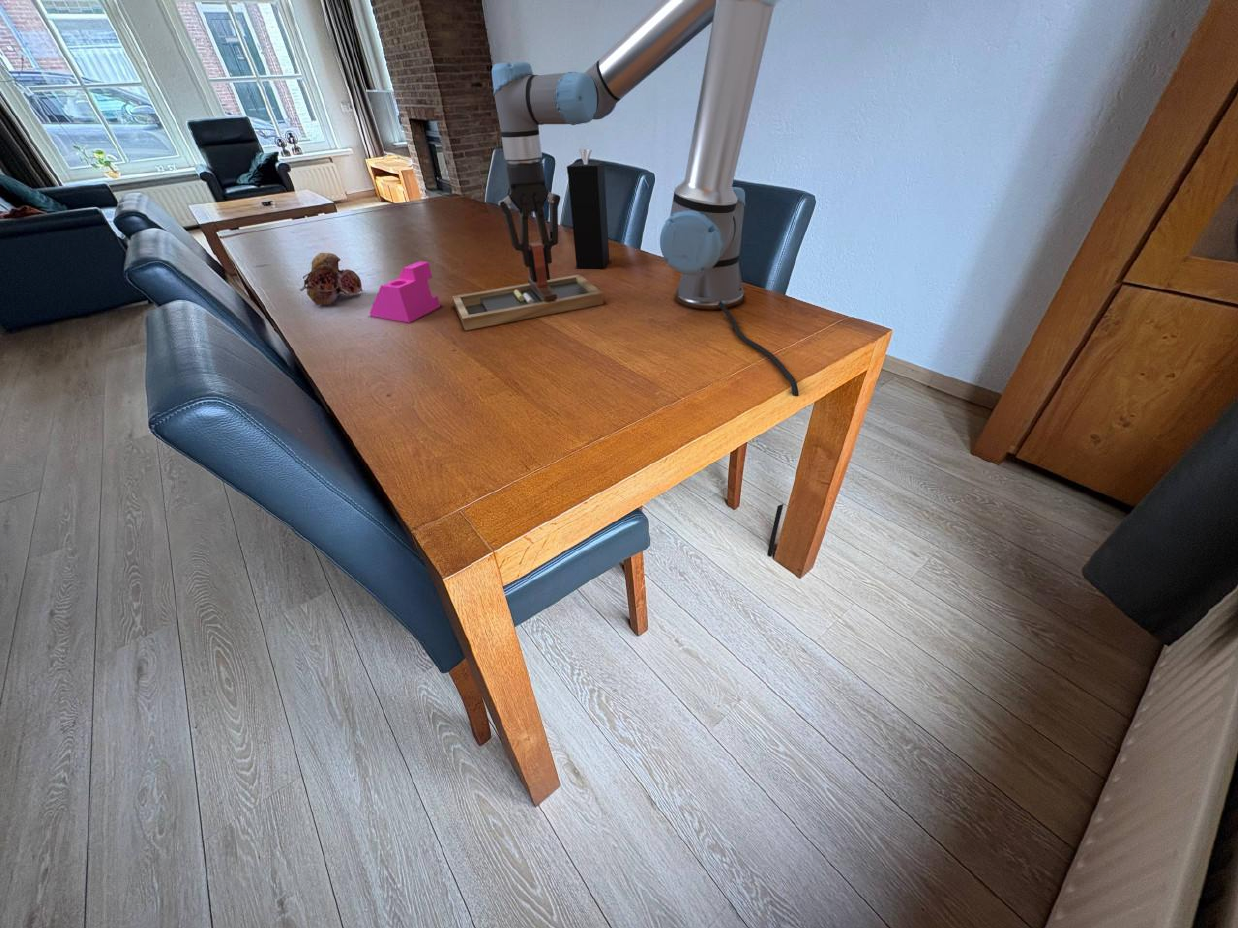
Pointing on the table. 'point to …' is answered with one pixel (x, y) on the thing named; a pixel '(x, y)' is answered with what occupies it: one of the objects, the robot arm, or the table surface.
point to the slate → (524, 302)
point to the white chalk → (528, 298)
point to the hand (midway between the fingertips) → (540, 279)
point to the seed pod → (329, 280)
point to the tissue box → (589, 212)
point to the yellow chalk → (519, 295)
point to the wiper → (540, 274)
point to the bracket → (406, 295)
